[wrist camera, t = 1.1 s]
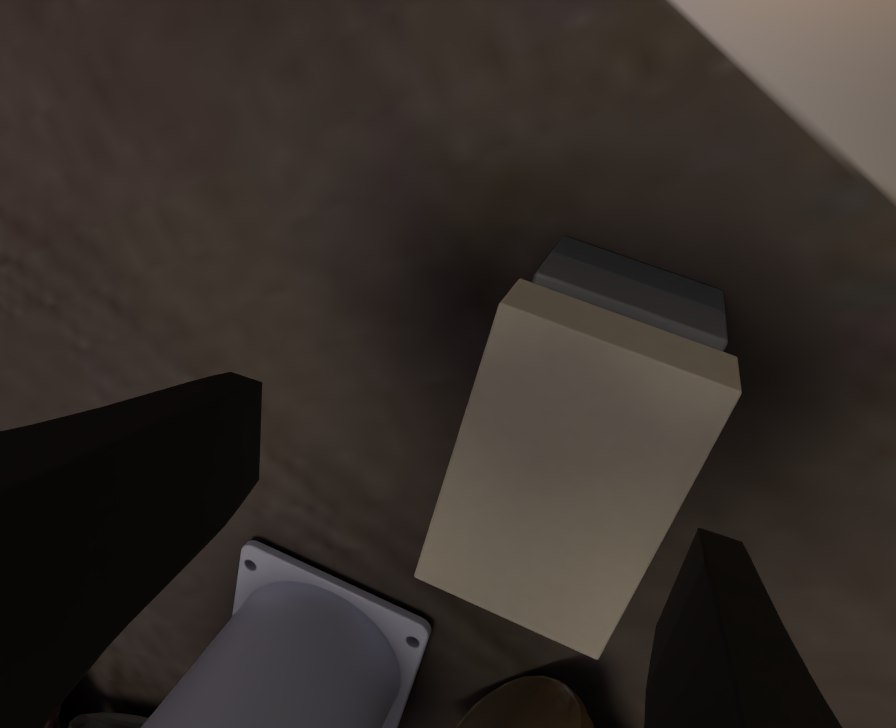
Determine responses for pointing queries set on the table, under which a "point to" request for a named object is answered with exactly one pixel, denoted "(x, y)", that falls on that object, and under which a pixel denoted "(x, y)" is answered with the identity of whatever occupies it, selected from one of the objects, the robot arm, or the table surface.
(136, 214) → the table surface
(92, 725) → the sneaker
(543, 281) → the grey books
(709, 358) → the beige box
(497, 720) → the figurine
